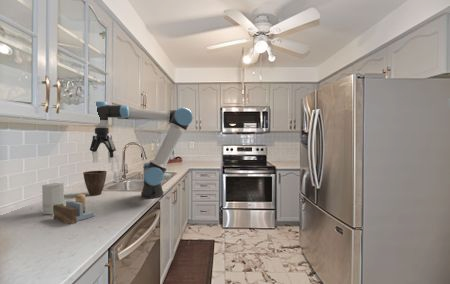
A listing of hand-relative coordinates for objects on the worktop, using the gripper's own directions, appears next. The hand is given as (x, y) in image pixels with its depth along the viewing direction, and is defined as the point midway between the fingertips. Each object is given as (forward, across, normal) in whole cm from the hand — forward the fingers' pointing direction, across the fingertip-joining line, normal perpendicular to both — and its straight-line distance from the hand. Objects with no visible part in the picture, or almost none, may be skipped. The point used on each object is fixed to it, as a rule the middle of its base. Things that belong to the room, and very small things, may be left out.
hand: (103, 162), depth 155 cm
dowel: (+25, +9, -21) cm, 34 cm away
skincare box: (+25, -12, -23) cm, 36 cm away
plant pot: (+26, -28, +15) cm, 41 cm away
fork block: (+25, +9, -23) cm, 35 cm away
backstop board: (+25, +8, -29) cm, 39 cm away
